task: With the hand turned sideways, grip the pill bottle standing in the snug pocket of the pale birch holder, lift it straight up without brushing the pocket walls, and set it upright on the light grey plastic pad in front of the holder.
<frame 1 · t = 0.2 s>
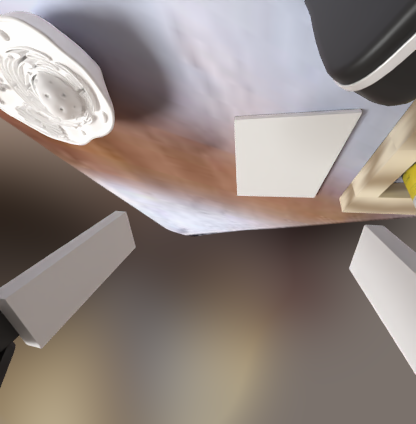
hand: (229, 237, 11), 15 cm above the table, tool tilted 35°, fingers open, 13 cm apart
pad: (281, 162, 25), on the table
cell model: (71, 68, 19), on the table
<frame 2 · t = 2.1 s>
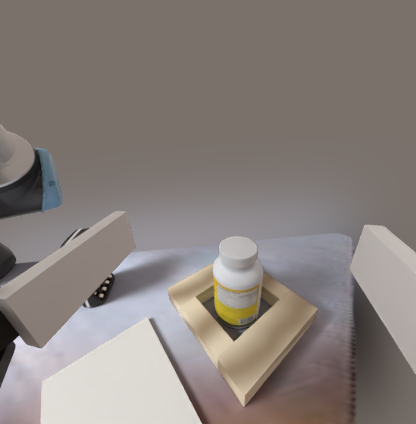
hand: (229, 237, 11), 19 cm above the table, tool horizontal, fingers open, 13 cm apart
pad: (116, 406, 19), on the table
pill bottle: (236, 310, 28), resting in holder
battery charger: (104, 291, 33), on the table
holder: (236, 309, 28), on the table
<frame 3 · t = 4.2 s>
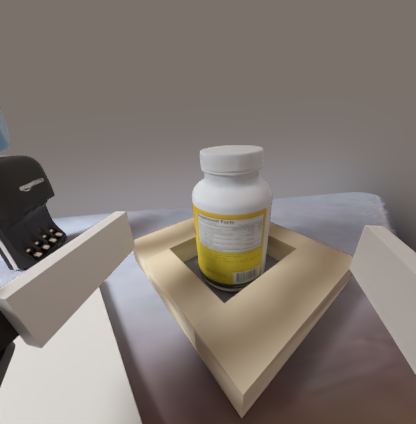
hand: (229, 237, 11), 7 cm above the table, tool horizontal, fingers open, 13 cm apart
pill bottle: (231, 270, 19), resting in holder
battery charger: (48, 253, 23), on the table
holder: (231, 268, 19), on the table
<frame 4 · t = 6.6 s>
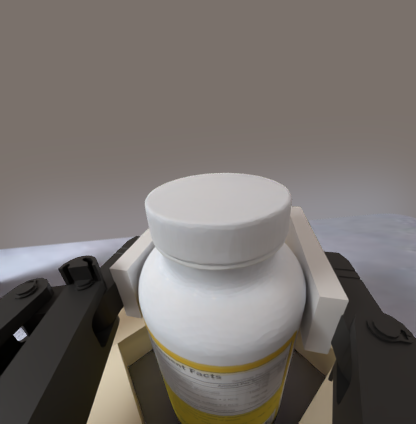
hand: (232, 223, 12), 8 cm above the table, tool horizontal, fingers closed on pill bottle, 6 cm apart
pill bottle: (223, 374, 11), resting in holder, touching gripper
holder: (223, 372, 11), on the table
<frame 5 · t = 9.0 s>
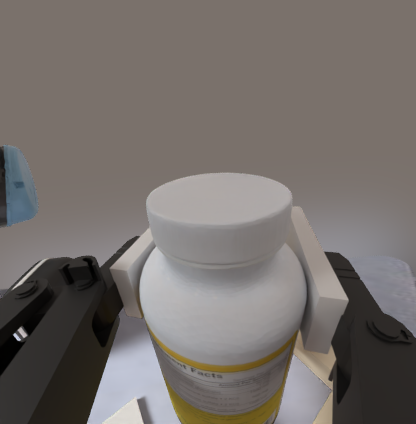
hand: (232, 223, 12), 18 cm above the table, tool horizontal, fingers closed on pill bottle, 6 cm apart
pill bottle: (224, 374, 11), point 10 cm above the table, touching gripper
battery charger: (81, 341, 24), on the table
holder: (268, 385, 19), on the table
when the fingers open (10 cm above the table, at t = 11.6 s): pill bottle drops 1 cm, resting on pad.
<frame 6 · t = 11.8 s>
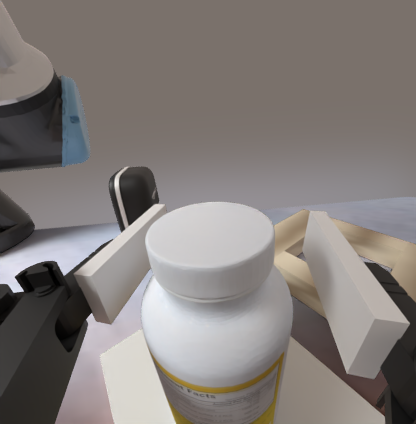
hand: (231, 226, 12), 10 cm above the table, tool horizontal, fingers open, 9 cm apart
pad: (223, 389, 12), on the table
pill bottle: (223, 387, 12), resting on pad
battery charger: (151, 254, 26), on the table
holder: (336, 268, 21), on the table
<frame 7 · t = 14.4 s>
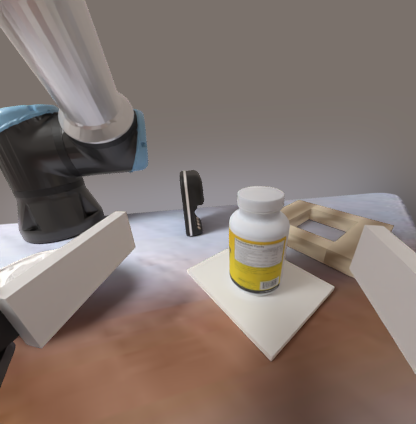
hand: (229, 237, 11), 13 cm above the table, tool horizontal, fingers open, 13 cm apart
pad: (254, 281, 25), on the table
pill bottle: (254, 279, 24), resting on pad
battery charger: (195, 228, 38), on the table
holder: (318, 234, 34), on the table
cell model: (48, 308, 23), on the table
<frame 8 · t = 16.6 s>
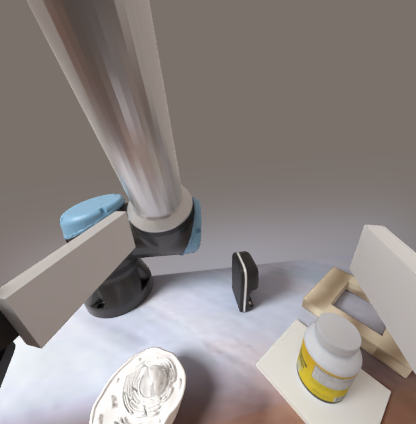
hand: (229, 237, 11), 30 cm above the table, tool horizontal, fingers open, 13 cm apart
pad: (318, 378, 29), on the table
pill bottle: (318, 378, 28), resting on pad
battery charger: (243, 299, 42), on the table
holder: (359, 313, 38), on the table
cell model: (147, 411, 27), on the table
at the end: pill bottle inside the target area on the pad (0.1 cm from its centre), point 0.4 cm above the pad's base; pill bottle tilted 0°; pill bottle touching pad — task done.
